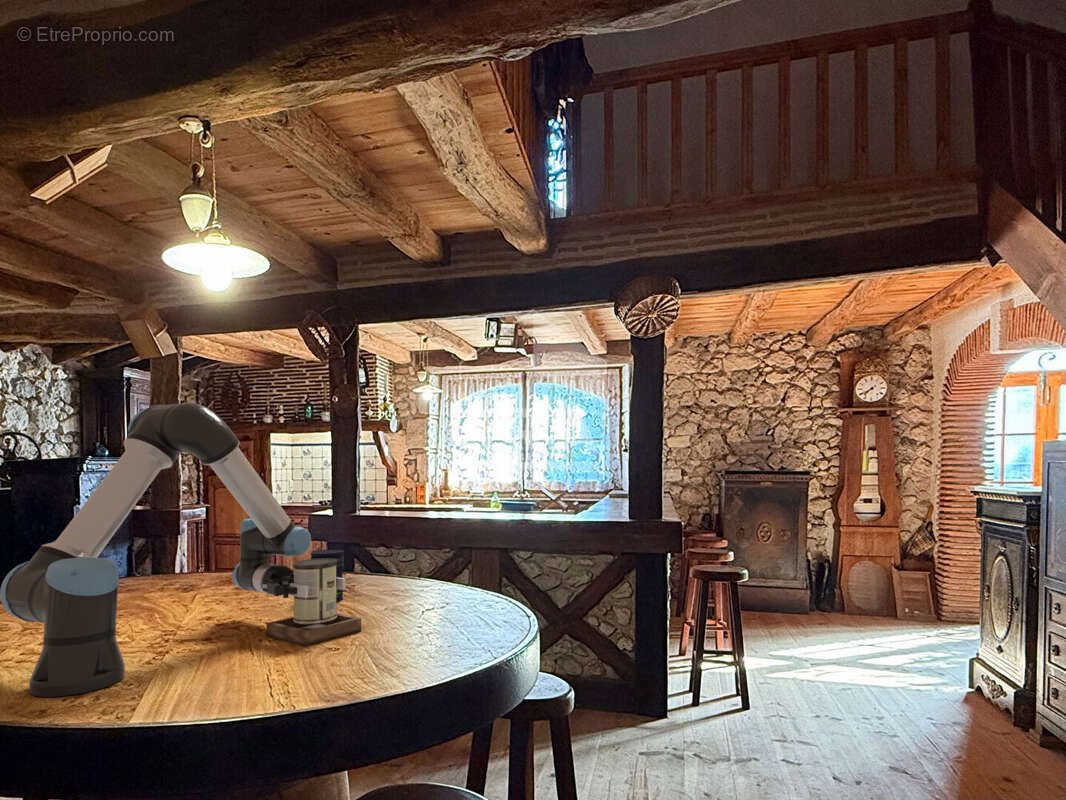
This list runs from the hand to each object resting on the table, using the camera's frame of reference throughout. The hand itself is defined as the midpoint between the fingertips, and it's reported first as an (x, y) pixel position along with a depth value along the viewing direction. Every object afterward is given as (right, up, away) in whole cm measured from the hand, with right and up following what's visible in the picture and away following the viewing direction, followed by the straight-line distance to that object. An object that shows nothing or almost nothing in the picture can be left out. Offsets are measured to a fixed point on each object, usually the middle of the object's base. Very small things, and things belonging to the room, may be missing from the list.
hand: (326, 587), depth 158 cm
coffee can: (-3, -9, +2) cm, 9 cm away
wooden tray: (-3, -12, +1) cm, 12 cm away
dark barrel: (-13, -16, +41) cm, 45 cm away
